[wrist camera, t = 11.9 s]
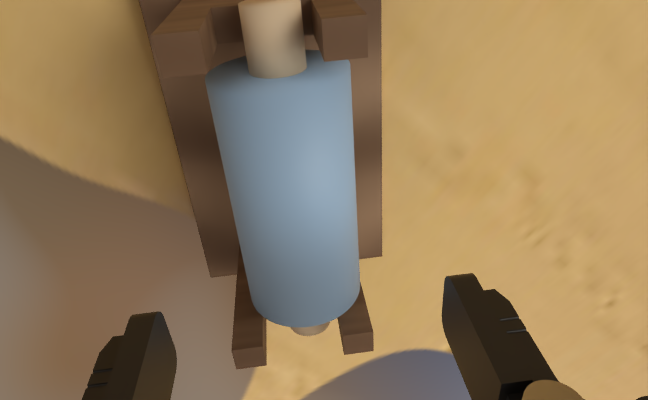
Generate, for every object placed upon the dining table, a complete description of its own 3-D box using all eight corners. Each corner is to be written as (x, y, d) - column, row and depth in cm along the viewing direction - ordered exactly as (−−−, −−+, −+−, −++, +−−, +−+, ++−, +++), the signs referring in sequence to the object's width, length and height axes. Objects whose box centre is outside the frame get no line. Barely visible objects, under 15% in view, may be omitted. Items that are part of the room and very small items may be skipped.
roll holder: (136, -33, 19) (62, 2, 12) (376, -53, 20) (439, -32, 13) (212, 266, 28) (194, 390, 21) (378, 245, 28) (417, 359, 21)
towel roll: (177, 2, 16) (210, 27, 12) (309, -17, 18) (376, -1, 14) (245, 305, 24) (278, 379, 20) (333, 272, 25) (381, 336, 22)
